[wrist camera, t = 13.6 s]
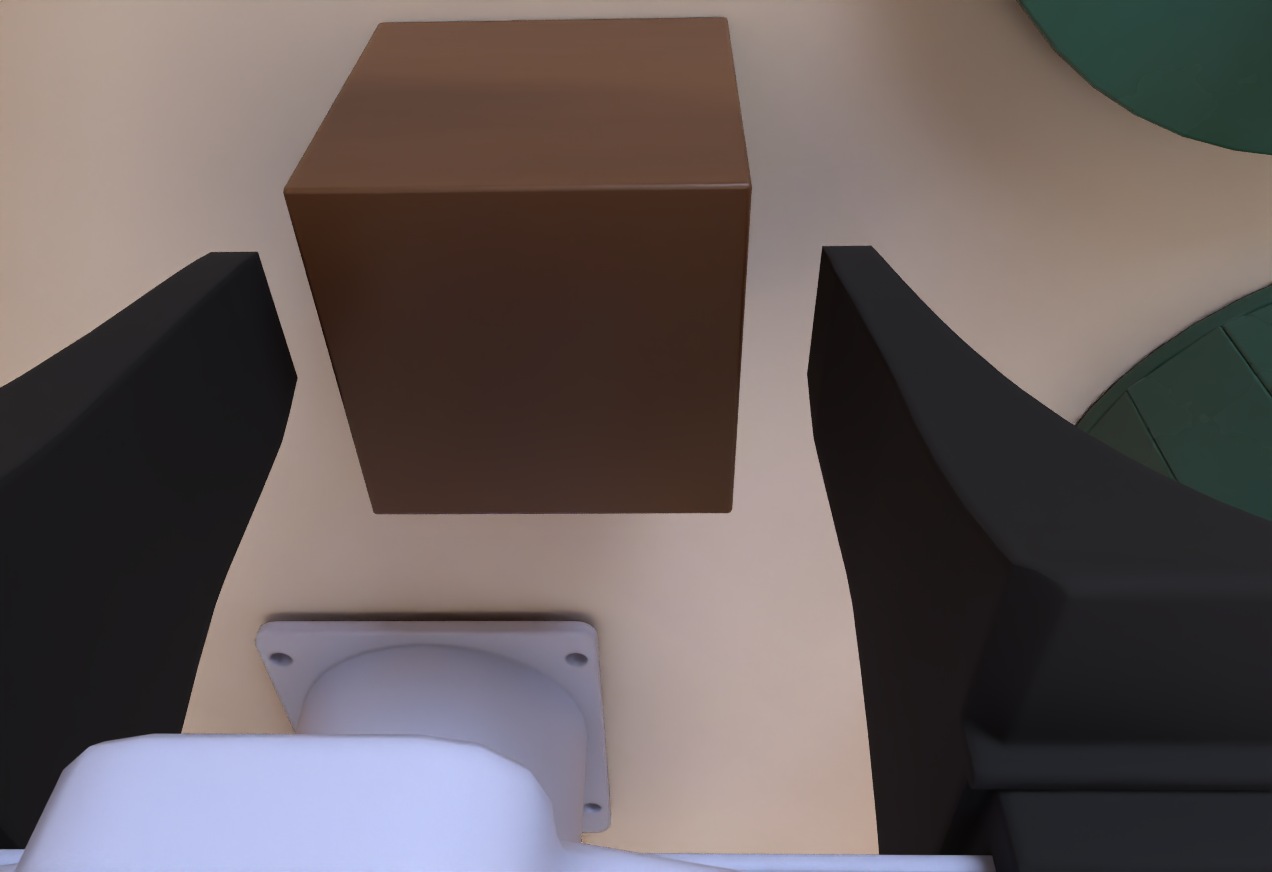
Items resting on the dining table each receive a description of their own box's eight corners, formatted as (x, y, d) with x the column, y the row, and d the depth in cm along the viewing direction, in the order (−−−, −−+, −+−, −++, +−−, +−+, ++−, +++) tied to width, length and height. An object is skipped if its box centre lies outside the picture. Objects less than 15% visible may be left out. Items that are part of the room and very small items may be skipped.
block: (716, 307, 18) (732, 514, 14) (432, 310, 18) (372, 516, 14) (727, 15, 14) (753, 184, 10) (377, 21, 14) (280, 190, 11)
